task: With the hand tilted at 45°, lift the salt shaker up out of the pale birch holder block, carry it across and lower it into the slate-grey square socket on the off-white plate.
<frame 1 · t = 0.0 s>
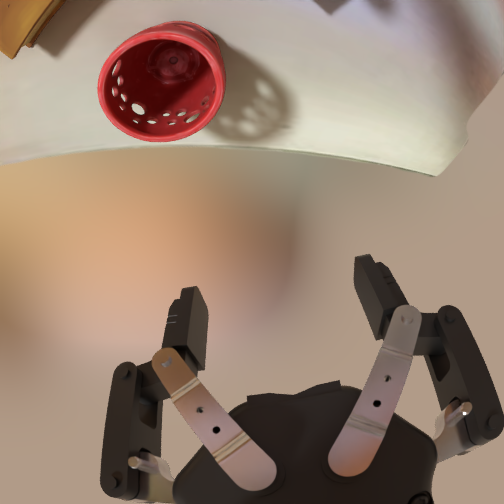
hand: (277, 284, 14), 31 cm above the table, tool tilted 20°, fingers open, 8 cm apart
plant pot: (173, 58, 28), on the table
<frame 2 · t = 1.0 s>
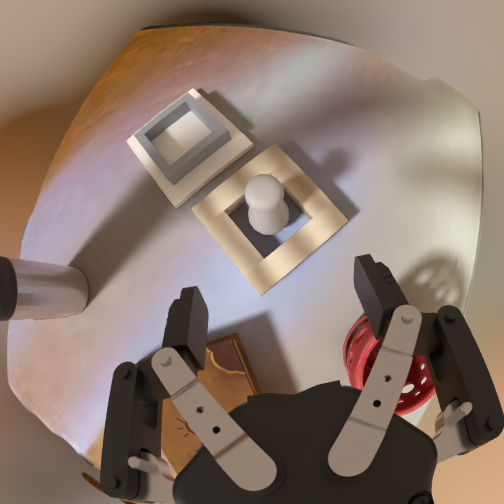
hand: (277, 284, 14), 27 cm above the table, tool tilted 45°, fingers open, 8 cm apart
birch holder block: (269, 218, 41), on the table
diary: (210, 411, 39), on the table
socket plate: (185, 143, 45), on the table
plant pot: (376, 348, 37), on the table
salt shaker: (269, 219, 42), resting in birch holder block
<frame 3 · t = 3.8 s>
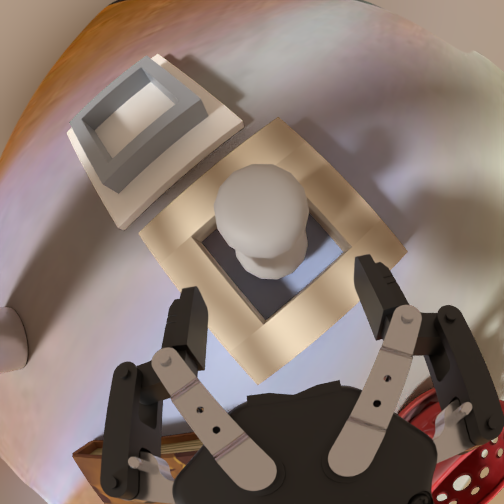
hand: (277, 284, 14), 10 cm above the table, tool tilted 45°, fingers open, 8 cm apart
birch holder block: (271, 246, 24), on the table
socket plate: (141, 128, 27), on the table
plant pot: (424, 430, 20), on the table
salt shaker: (271, 247, 24), resting in birch holder block
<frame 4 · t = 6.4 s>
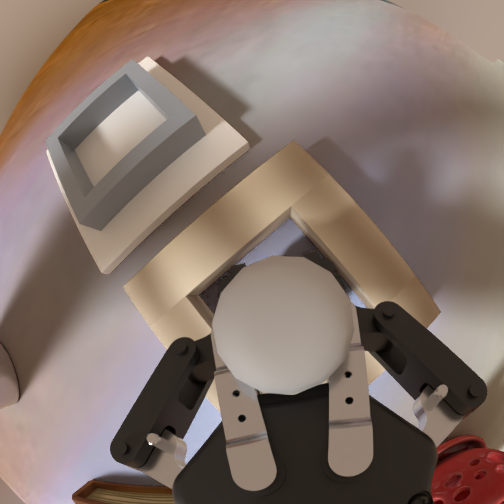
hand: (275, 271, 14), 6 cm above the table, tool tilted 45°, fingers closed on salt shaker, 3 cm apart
birch holder block: (283, 303, 20), on the table
socket plate: (126, 147, 23), on the table
plant pot: (433, 476, 16), on the table
salt shaker: (283, 303, 20), resting in birch holder block, touching gripper
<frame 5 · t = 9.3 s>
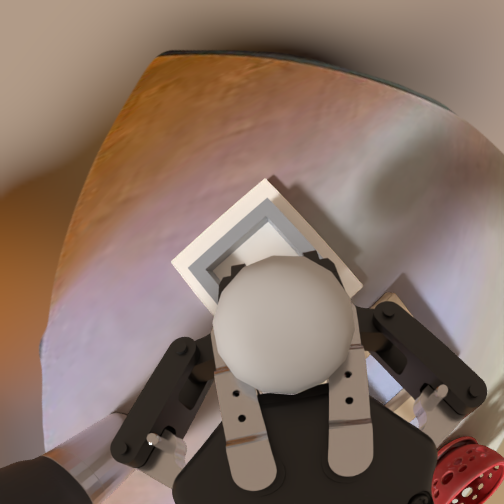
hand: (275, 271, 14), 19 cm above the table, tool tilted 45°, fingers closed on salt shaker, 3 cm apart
birch holder block: (376, 377, 30), on the table
socket plate: (265, 274, 34), on the table
plant pot: (446, 461, 26), on the table
salt shaker: (283, 303, 20), point 14 cm above the table, touching gripper
when the fingers open (8 cm above the table, at t = 12.6 s): salt shaker stays where it is, resting on socket plate.
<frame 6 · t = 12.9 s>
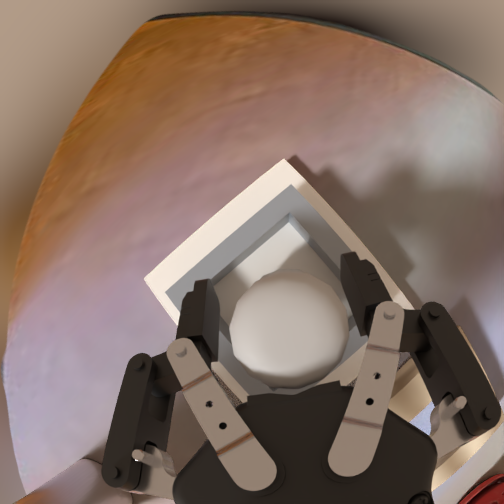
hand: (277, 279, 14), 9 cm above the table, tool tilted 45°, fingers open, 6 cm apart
birch holder block: (419, 429, 19), on the table
socket plate: (282, 301, 22), on the table
plant pot: (474, 499, 15), on the table
salt shaker: (286, 307, 21), point 1 cm above the table, touching socket plate
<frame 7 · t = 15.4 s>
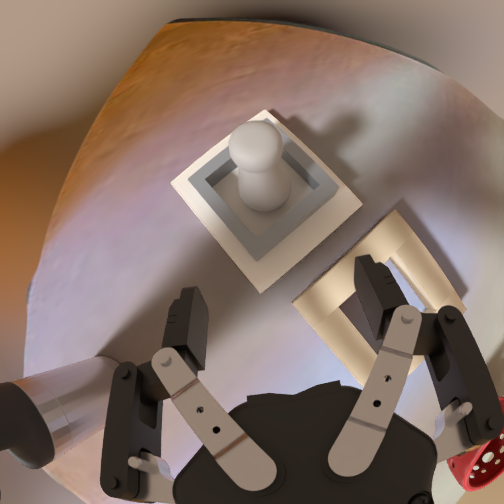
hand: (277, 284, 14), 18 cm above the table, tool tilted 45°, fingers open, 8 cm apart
birch holder block: (383, 307, 30), on the table
socket plate: (264, 193, 33), on the table
plant pot: (462, 422, 26), on the table
salt shaker: (266, 194, 32), point 1 cm above the table, touching socket plate
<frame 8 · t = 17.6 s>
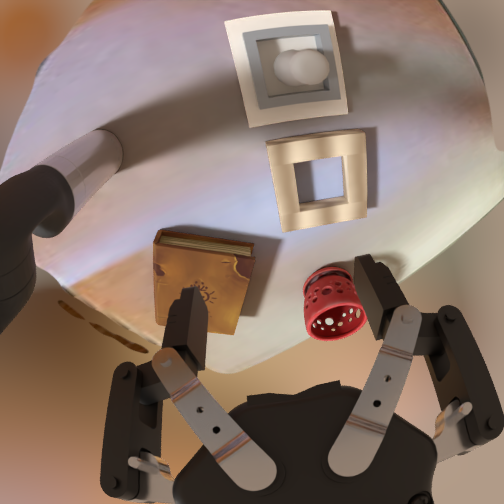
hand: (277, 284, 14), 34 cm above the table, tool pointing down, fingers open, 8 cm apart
birch holder block: (318, 177, 46), on the table
diary: (200, 278, 60), on the table
socket plate: (289, 65, 34), on the table
plant pot: (325, 283, 62), on the table
salt shaker: (290, 68, 34), point 1 cm above the table, touching socket plate
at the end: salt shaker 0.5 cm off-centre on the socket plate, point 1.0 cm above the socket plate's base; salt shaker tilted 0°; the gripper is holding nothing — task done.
